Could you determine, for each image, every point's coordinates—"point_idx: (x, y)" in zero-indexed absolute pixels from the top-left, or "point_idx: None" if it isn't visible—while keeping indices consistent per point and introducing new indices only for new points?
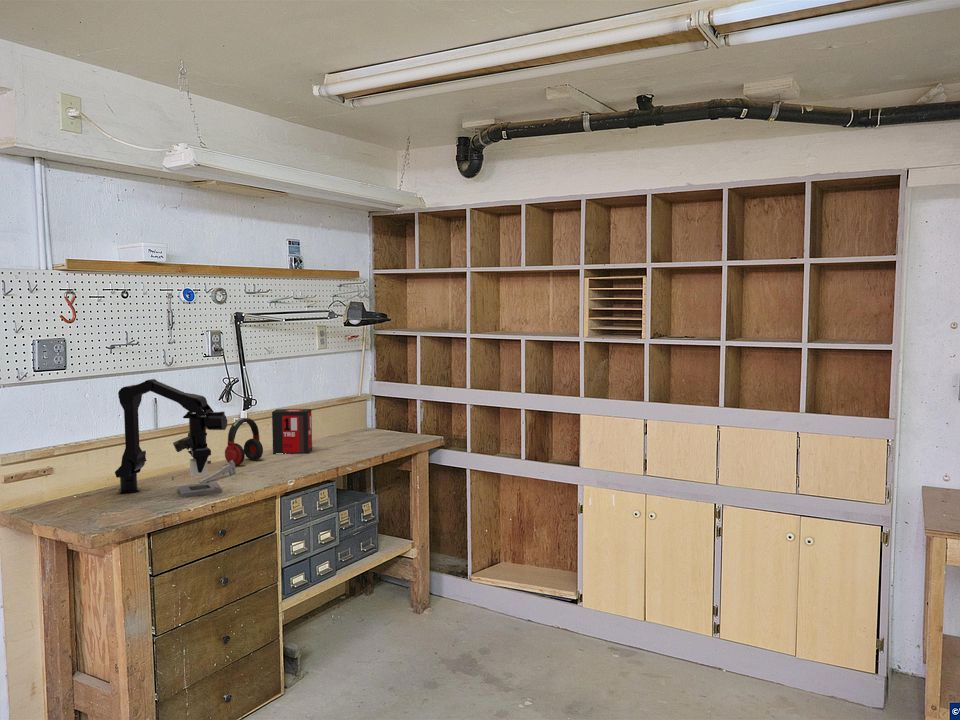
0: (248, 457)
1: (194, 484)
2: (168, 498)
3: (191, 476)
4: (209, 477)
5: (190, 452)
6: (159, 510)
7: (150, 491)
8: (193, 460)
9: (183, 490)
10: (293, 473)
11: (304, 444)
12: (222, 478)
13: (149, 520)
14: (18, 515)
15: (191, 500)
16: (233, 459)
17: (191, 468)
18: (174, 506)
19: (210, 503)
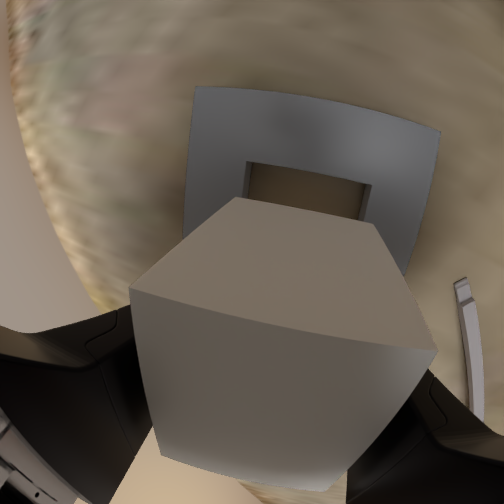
0: None
1: (412, 246)
2: (240, 20)
3: (283, 205)
4: (470, 361)
5: (497, 499)
6: (62, 4)
7: (486, 20)
8: (201, 352)
9: (280, 115)
10: (313, 499)
11: None
12: (460, 395)
13: (9, 6)
14: None
15: (116, 129)
16: None
17: (238, 233)
18: (71, 50)
19: (45, 197)
